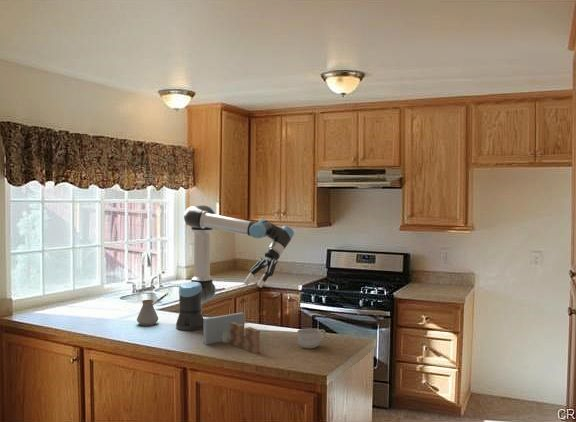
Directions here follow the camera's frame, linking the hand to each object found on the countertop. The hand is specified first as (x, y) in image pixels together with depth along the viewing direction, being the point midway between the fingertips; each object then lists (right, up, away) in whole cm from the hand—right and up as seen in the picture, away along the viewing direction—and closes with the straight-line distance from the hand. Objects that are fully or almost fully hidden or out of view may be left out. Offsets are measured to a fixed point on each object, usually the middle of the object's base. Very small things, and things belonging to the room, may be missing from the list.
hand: (252, 285), depth 279 cm
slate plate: (-13, -25, -11) cm, 30 cm away
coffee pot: (-56, -24, +25) cm, 66 cm away
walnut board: (-2, -26, -24) cm, 35 cm away
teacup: (+29, -26, -21) cm, 45 cm away
